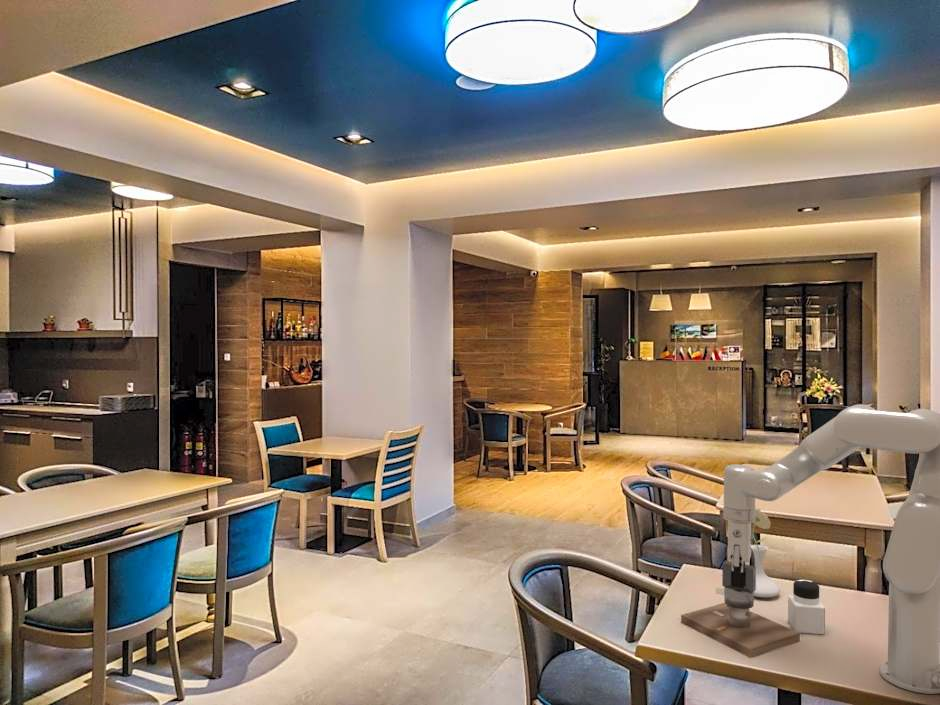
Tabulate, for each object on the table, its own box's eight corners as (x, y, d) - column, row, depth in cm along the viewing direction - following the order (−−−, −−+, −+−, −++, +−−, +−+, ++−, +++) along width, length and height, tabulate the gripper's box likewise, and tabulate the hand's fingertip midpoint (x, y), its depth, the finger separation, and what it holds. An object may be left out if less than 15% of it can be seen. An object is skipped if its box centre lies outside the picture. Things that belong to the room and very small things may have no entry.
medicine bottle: (825, 635, 169) (825, 588, 169) (795, 632, 171) (795, 586, 171) (816, 623, 176) (816, 578, 176) (787, 620, 178) (787, 576, 178)
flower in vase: (788, 600, 191) (788, 514, 190) (749, 602, 190) (750, 515, 190) (764, 583, 204) (765, 502, 203) (728, 584, 203) (729, 503, 203)
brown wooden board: (799, 640, 166) (800, 613, 166) (750, 657, 158) (750, 628, 158) (728, 608, 186) (728, 583, 186) (681, 622, 177) (681, 596, 177)
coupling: (758, 602, 172) (758, 564, 172) (750, 611, 167) (750, 571, 166) (720, 593, 178) (720, 556, 178) (712, 602, 172) (712, 564, 172)
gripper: (752, 523, 162) (751, 598, 163) (757, 507, 177) (756, 576, 177) (719, 519, 165) (719, 592, 166) (727, 504, 180) (726, 571, 181)
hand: (738, 583), depth 172 cm, fingers closed on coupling, 3 cm apart
